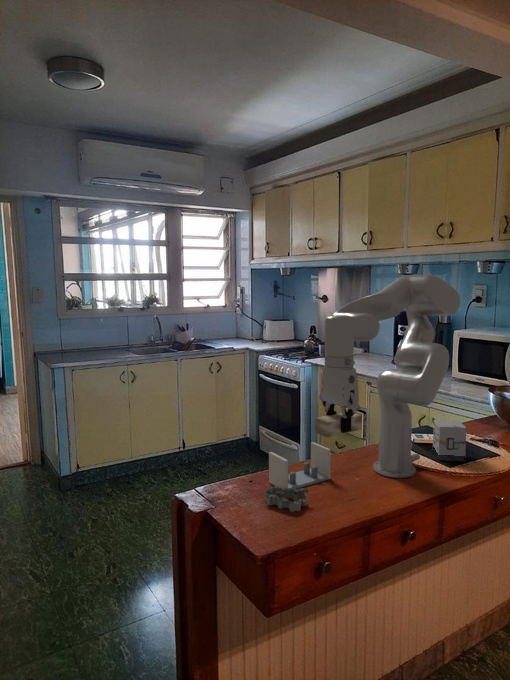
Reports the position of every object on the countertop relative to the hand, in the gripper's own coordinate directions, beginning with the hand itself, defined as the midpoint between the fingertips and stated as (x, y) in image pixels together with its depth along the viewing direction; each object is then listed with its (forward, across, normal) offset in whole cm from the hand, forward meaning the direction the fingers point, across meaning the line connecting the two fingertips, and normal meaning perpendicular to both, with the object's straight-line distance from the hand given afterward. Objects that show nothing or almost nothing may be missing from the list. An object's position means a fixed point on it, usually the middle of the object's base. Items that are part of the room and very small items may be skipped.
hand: (338, 428), depth 126 cm
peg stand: (+19, +14, +2) cm, 24 cm away
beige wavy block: (+1, 0, 0) cm, 1 cm away
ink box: (+20, +2, -51) cm, 54 cm away
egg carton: (+19, +4, +14) cm, 25 cm away
